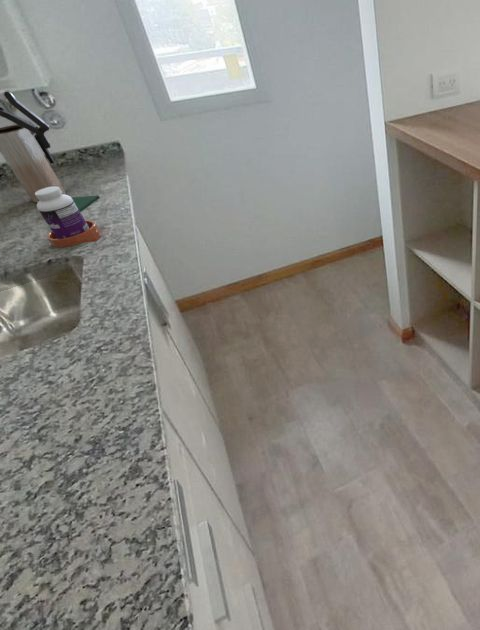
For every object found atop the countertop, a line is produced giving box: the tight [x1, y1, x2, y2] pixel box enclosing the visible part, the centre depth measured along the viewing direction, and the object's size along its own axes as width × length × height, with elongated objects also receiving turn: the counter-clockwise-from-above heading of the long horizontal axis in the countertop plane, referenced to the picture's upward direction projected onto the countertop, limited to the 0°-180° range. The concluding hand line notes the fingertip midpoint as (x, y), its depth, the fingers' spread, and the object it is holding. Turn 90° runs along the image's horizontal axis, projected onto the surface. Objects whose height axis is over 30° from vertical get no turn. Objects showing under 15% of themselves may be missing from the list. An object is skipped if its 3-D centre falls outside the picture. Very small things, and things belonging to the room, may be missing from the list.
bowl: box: [46, 219, 102, 248], centre depth 122 cm, size 12×12×4 cm
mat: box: [71, 195, 100, 213], centre depth 144 cm, size 12×12×1 cm
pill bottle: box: [35, 186, 90, 239], centre depth 119 cm, size 8×8×14 cm
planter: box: [0, 124, 67, 204], centre depth 145 cm, size 10×10×23 cm
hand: (20, 169), depth 108 cm, fingers open, 13 cm apart
